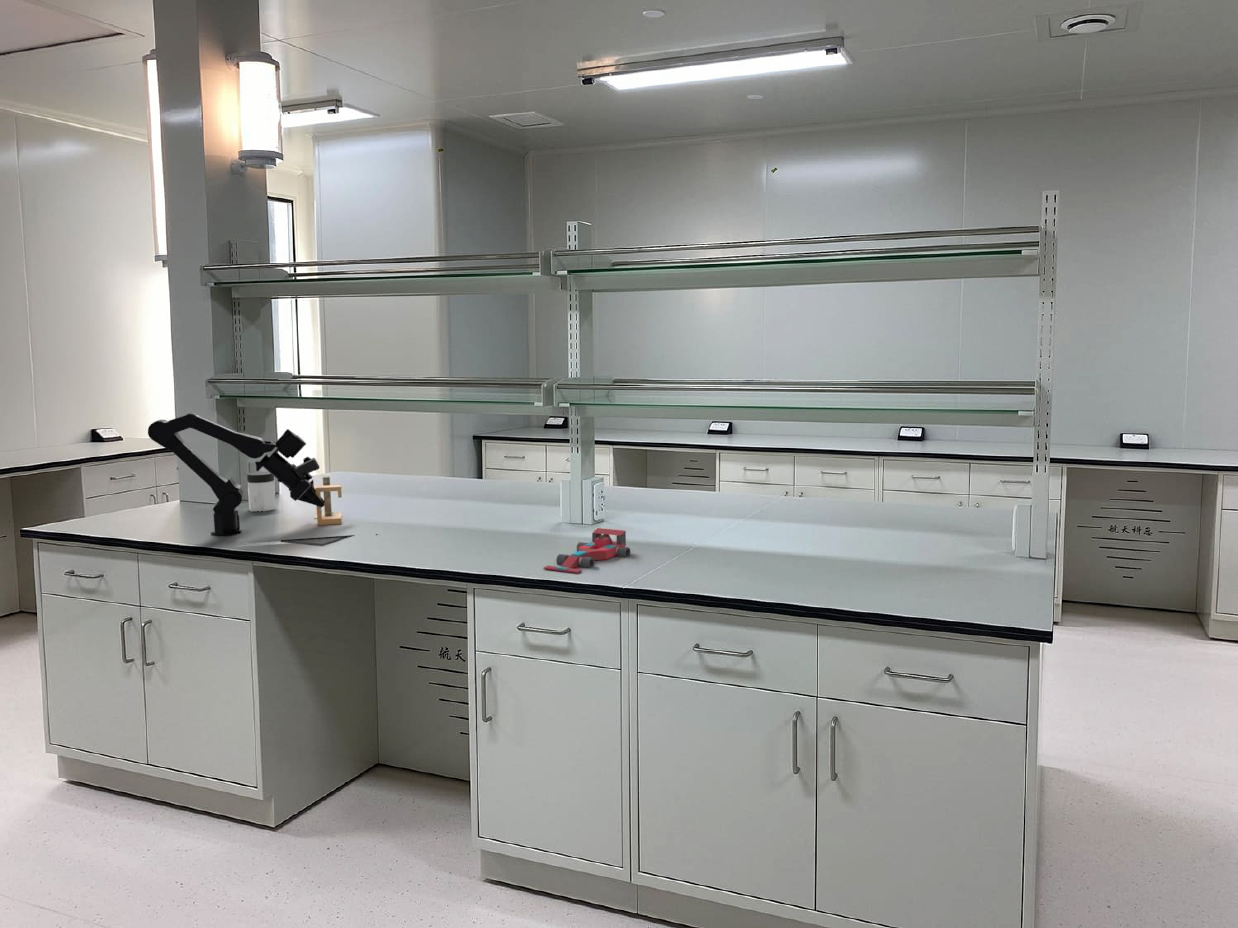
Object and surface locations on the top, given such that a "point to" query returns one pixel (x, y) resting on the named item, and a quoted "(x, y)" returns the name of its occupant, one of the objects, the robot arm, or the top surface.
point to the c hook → (320, 519)
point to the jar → (261, 491)
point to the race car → (593, 551)
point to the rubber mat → (316, 540)
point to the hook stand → (328, 501)
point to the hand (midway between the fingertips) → (323, 504)
